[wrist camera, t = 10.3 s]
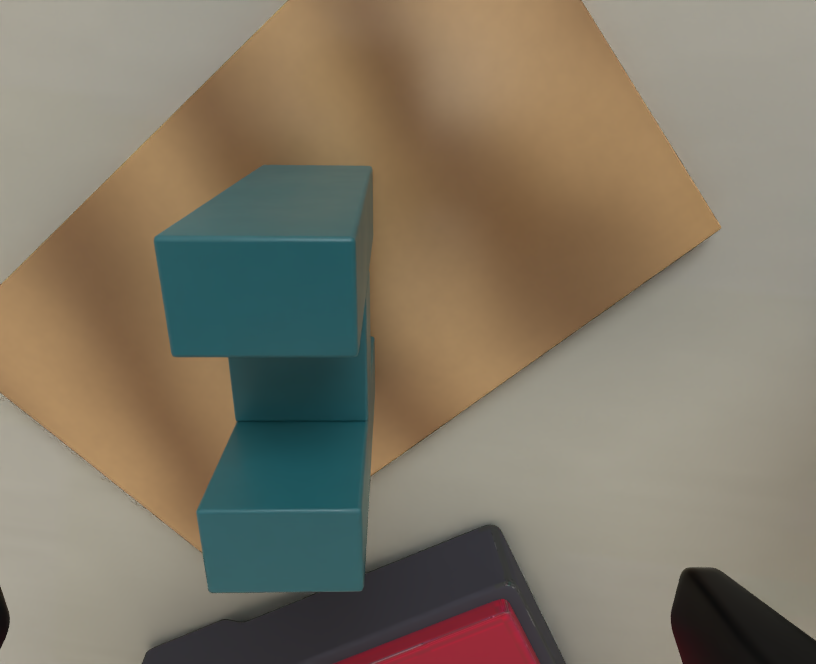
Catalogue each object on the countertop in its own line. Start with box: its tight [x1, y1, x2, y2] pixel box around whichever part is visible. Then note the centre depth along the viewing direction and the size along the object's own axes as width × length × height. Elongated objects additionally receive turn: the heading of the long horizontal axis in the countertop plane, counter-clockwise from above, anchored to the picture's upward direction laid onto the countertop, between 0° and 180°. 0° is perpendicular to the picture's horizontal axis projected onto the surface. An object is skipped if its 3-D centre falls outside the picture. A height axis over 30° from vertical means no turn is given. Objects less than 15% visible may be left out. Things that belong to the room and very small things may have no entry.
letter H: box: [154, 165, 375, 593], centre depth 14 cm, size 3×7×8 cm, turn 179°
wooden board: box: [0, 0, 721, 553], centre depth 18 cm, size 20×12×1 cm, turn 129°
